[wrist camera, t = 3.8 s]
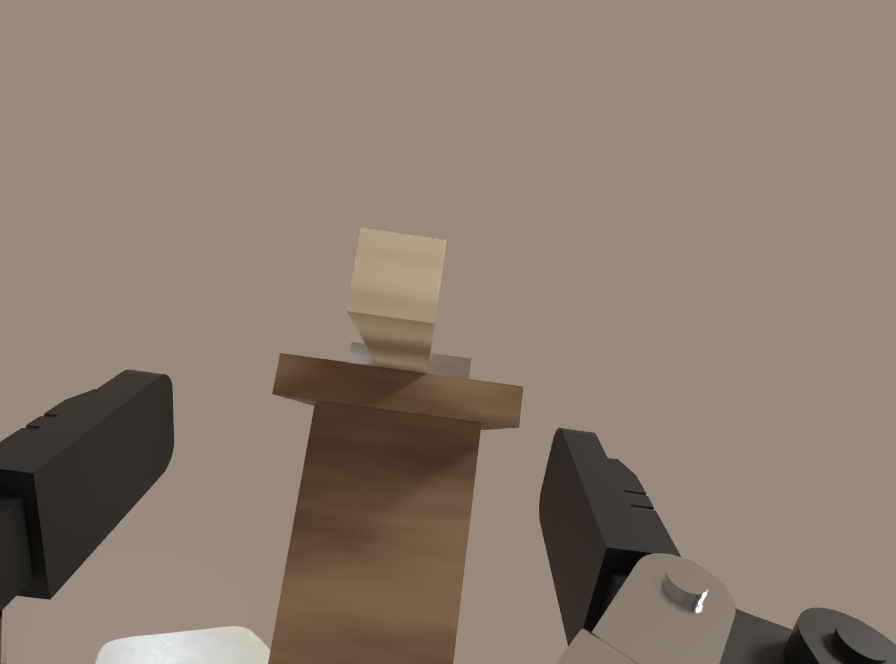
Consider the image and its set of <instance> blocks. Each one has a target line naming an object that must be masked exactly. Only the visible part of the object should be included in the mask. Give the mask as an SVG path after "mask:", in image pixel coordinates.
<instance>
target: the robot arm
mask: <svg viewBox="0 0 896 664" xmlns="http://www.w3.org/2000/svg"><path fill="white" fill-rule="evenodd" d="M173 447H174V425H173V391H172V382H171V379H170V378H169V377H168V376H167V375H165V374H158V373H151V372H143V371H136V370H125V371H123V372H122V373H120V374H119V375H117V376H116V377H114V378H113V379H111V380H110V381H108V382H107V383H105V384H104V385H102V386H101V387H99V388H98V389H96V390H95V389H94V390H91V391H89V392H86V393H83V394H80V395H77V396H74V397H72V398H69V399H66V400H64V401H63V402H61V403H60V404H58V405H57V406H55V407H54V408H52V409H51V410H49V411H47V412H46V413H45V414H44V416H43V417H42V416H40V417H38V418H37V419H35V420H34V421H32V422H30V423H29V424H27V425H26V428H21V429H20V430H18V431H16V432H15V433H14V434H12V435H10V436H9V437H7V438H6V439H4V440H3V441H1V442H0V664H6V639H7V636H6V635H7V621H6V615H5V607H6V606H7V605H8V604H9V603H10V601H12V599H13V598H14V597H16V596H24V597H32V598H41V599H49V600H50V599H51V598H52V597H53V596H54V595H55V594H56V593H57V591H58V590H59V589H60V588H61V587H62V586H63V585H64V584H65V582H66V581H67V580H68V579H69V578H70V577H71V576H72V575H73V573H74V572H75V571H76V570H77V569H78V568H79V567H80V566H81V565H82V563H83V562H84V561H85V560H86V559H87V558H88V557H89V556H90V554H91V553H92V552H93V551H94V550H95V549H96V548H97V547H98V545H100V543H101V542H102V541H103V540H104V539H105V538H106V537H107V535H108V534H109V533H110V532H111V531H112V530H113V529H114V528H115V527H116V526H117V524H118V523H119V522H120V521H121V520H122V519H123V518H124V517H125V515H126V514H127V513H128V512H129V511H130V510H131V509H132V508H133V507H134V505H135V504H136V503H137V502H138V501H139V500H140V499H141V498H142V496H143V495H144V494H145V493H146V492H147V491H148V490H149V489H150V487H151V486H152V485H153V484H154V483H155V482H156V481H157V480H158V479H159V478H160V476H161V475H162V474H163V473H164V472H165V470H166V468H167V466H168V464H169V462H170V460H171V457H172V453H173ZM539 517H540V524H541V528H542V533H543V537H544V542H545V546H546V550H547V554H548V558H549V564H550V568H551V572H552V577H553V581H554V585H555V590H556V594H557V599H558V603H559V607H560V612H561V616H562V621H563V625H564V629H565V633H566V638H567V642H568V648H567V650H566V651H565V653H564V654H563V655H562V657H561V658H560V660H559V661H558V663H557V664H896V645H895V644H894V643H893V642H891V641H890V640H889V639H888V638H886V637H885V636H884V635H882V634H881V633H879V632H878V631H876V630H875V629H874V628H872V627H870V626H868V625H867V624H865V623H863V622H861V621H860V620H857V619H856V618H853V617H851V616H849V615H846V614H844V613H841V612H838V611H835V610H830V609H826V608H811V609H807V610H805V611H803V612H802V613H801V614H800V616H799V618H798V620H797V622H796V624H795V626H794V628H793V630H792V629H789V628H786V627H783V626H781V625H778V624H775V623H772V622H769V621H767V620H764V619H761V618H759V617H755V616H753V615H750V614H748V613H745V612H743V611H740V610H738V609H736V608H735V604H734V601H733V598H732V596H731V595H730V593H729V591H728V590H727V589H726V587H725V586H724V585H723V584H722V583H721V582H720V581H719V580H718V579H717V578H716V577H715V576H714V575H712V574H711V573H710V572H709V571H707V570H706V569H704V568H703V567H701V566H699V565H698V564H696V563H694V562H691V561H689V560H687V559H684V558H682V557H681V556H680V554H679V552H678V550H677V548H676V547H675V545H674V543H673V541H672V539H671V538H670V536H669V534H668V532H667V530H666V529H665V527H664V525H663V523H662V522H661V520H660V518H659V516H658V514H657V512H656V511H654V507H653V505H652V503H651V502H650V500H649V498H648V496H646V492H645V491H644V489H643V487H642V485H641V483H640V482H639V480H638V478H637V476H636V475H635V474H634V473H633V472H632V471H630V470H629V469H628V468H627V467H626V466H625V465H624V464H622V463H621V462H620V461H619V460H618V459H609V458H607V456H606V454H605V452H604V450H603V448H602V446H601V444H600V442H599V440H598V438H597V436H596V434H595V433H593V432H585V431H577V430H570V429H563V428H559V429H557V431H556V433H555V435H554V439H553V442H552V447H551V451H550V455H549V459H548V463H547V468H546V472H545V476H544V481H543V485H542V489H541V494H540V503H539Z"/></svg>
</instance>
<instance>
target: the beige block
mask: <svg viewBox="0 0 896 664" xmlns="http://www.w3.org/2000/svg"><path fill="white" fill-rule="evenodd" d="M446 241H447V240H442V239H435V238H428V237H421V236H414V235H407V234H401V233H394V232H387V231H380V230H373V229H367V228H361V232H360V238H359V243H358V249H357V256H356V260H355V266H354V272H353V278H352V283H351V289H350V295H349V301H348V306H347V312H348V314H349V316H350V317H351V319H352V321H353V323H354V325H355V326H356V328H357V330H358V331H359V334H360V335H361V337H362V339H363V341H364V342H365V344H361V343H354V342H352V343H351V349H350V354H349V360H348V363H356V364H363V365H370V366H377V367H384V368H392V369H399V370H406V371H413V372H421V373H428V374H435V375H443V376H450V377H457V378H464V379H468V378H469V370H470V362H471V359H469V358H461V357H455V356H448V355H440V354H433V353H430V351H431V345H432V339H433V332H434V327H435V326H434V325H435V320H436V313H437V305H438V298H439V291H440V284H441V277H442V270H443V263H444V255H445V248H446Z"/></svg>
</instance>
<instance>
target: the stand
mask: <svg viewBox="0 0 896 664" xmlns="http://www.w3.org/2000/svg"><path fill="white" fill-rule="evenodd" d="M522 393H523V387H522V386H515V385H507V384H500V383H493V382H486V381H479V380H471V379H464V378H457V377H450V376H443V375H435V374H428V373H421V372H413V371H406V370H399V369H392V368H384V367H377V366H370V365H363V364H356V363H348V362H341V361H334V360H326V359H319V358H312V357H304V356H297V355H290V354H282V353H281V354H280V357H279V362H278V368H277V373H276V378H275V383H274V388H273V393H272V394H274V395H278V396H281V397H285V398H289V399H292V400H296V401H299V402H303V403H306V404H310V405H313V406H315V407H314V411H313V418H312V423H311V429H310V434H309V439H308V445H307V450H306V456H305V462H304V467H303V473H302V479H301V484H300V490H299V495H298V501H297V506H296V512H295V517H294V523H293V529H292V534H291V540H290V546H289V551H288V557H287V562H286V568H285V573H284V579H283V584H282V590H281V596H280V601H279V607H278V612H277V618H276V623H275V629H274V635H273V640H272V646H271V651H270V657H269V662H268V664H453V659H454V651H455V642H456V634H457V625H458V617H459V608H460V600H461V592H462V583H463V575H464V566H465V558H466V549H467V540H468V532H469V524H470V515H471V506H472V498H473V489H474V481H475V473H476V464H477V456H478V447H479V438H480V430H489V429H504V428H518V427H519V421H520V412H521V403H522Z"/></svg>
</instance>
